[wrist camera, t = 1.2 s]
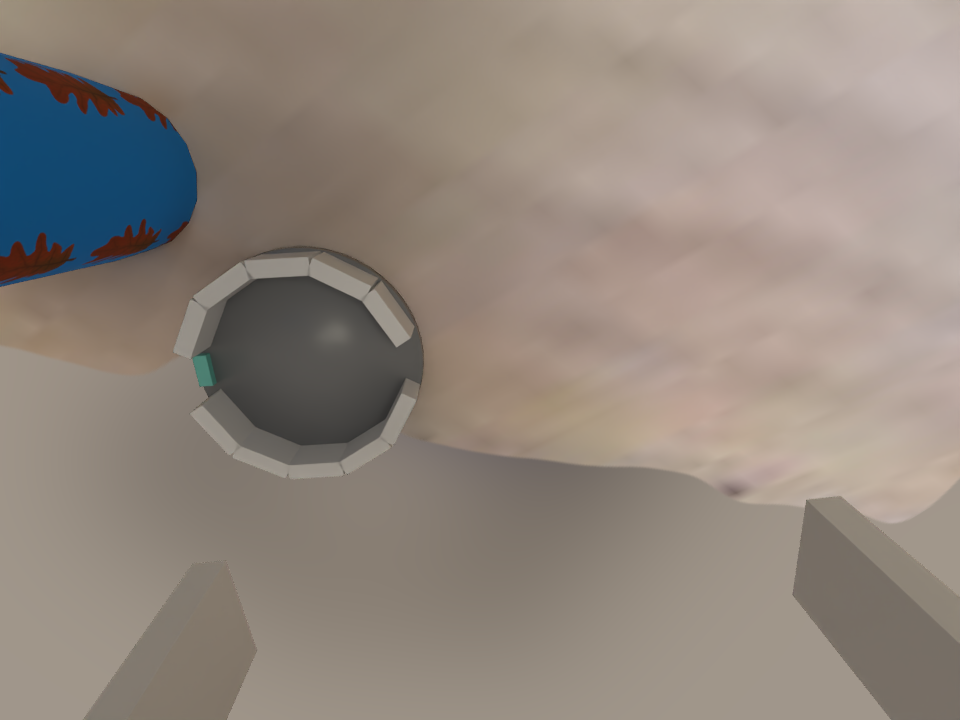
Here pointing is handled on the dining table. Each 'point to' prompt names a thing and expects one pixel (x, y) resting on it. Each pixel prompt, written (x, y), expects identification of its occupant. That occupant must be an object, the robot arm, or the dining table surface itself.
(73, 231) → the thermos
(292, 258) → the bayonet base
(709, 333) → the dining table surface
